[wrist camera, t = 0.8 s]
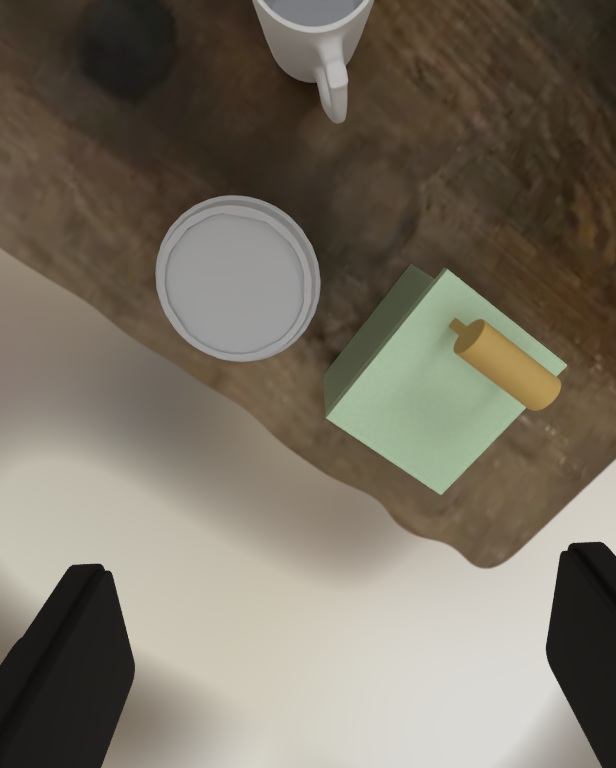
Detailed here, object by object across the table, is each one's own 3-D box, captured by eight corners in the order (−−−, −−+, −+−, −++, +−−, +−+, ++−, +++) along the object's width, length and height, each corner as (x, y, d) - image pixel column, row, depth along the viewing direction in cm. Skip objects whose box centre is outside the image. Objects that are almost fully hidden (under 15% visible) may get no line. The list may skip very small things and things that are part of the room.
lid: (443, 267, 30) (472, 281, 25) (561, 361, 32) (612, 393, 27) (325, 413, 34) (327, 453, 29) (438, 489, 36) (460, 540, 31)
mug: (250, -16, 32) (217, -135, 20) (351, -47, 31) (374, -186, 20) (289, 149, 35) (278, 126, 24) (379, 125, 34) (413, 89, 23)
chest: (410, 263, 38) (434, 278, 31) (507, 340, 40) (551, 371, 33) (322, 375, 41) (325, 413, 34) (416, 440, 43) (438, 489, 36)
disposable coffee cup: (342, 255, 38) (356, 278, 26) (266, 343, 40) (248, 399, 29) (247, 168, 35) (217, 153, 24) (172, 267, 38) (115, 296, 27)
